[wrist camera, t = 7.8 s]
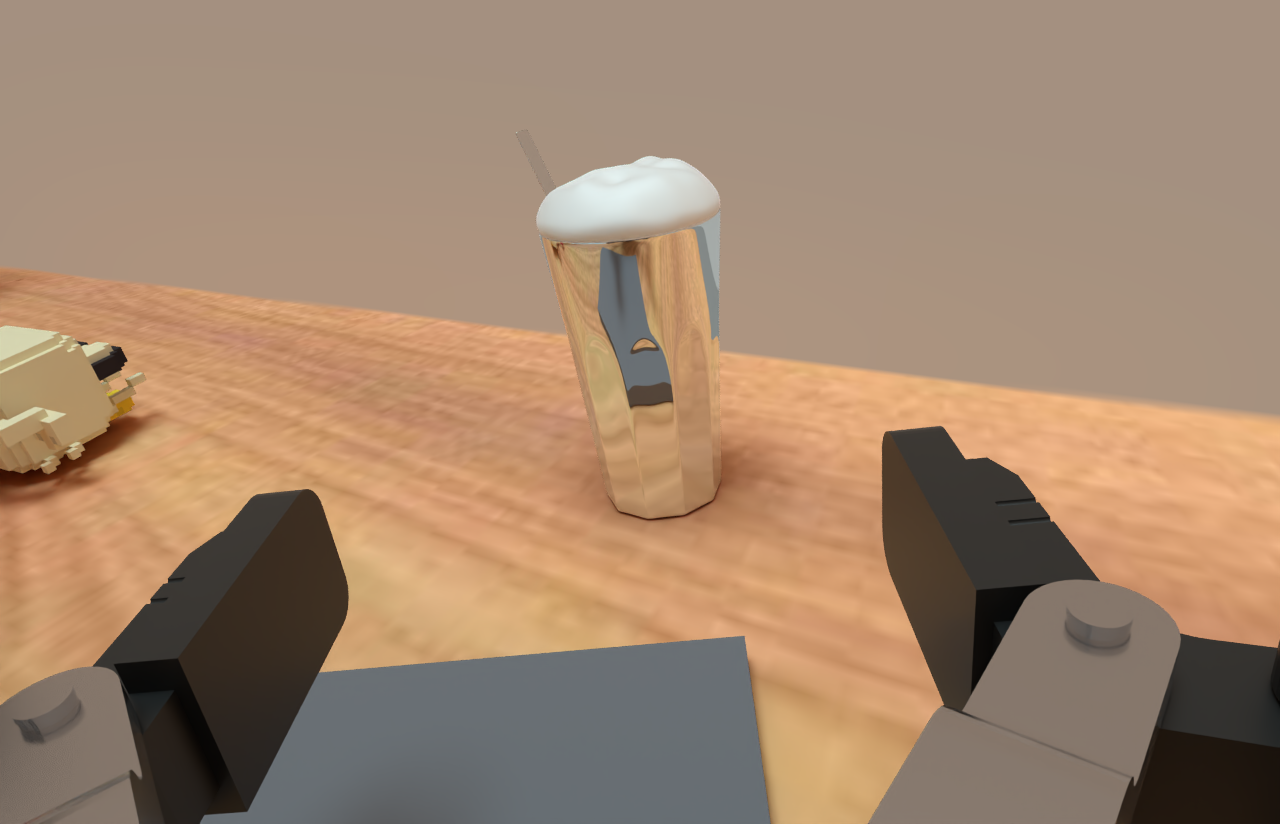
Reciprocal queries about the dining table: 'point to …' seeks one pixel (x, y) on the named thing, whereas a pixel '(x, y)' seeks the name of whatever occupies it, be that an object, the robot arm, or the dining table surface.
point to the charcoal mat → (526, 742)
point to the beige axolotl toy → (55, 396)
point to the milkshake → (641, 323)
